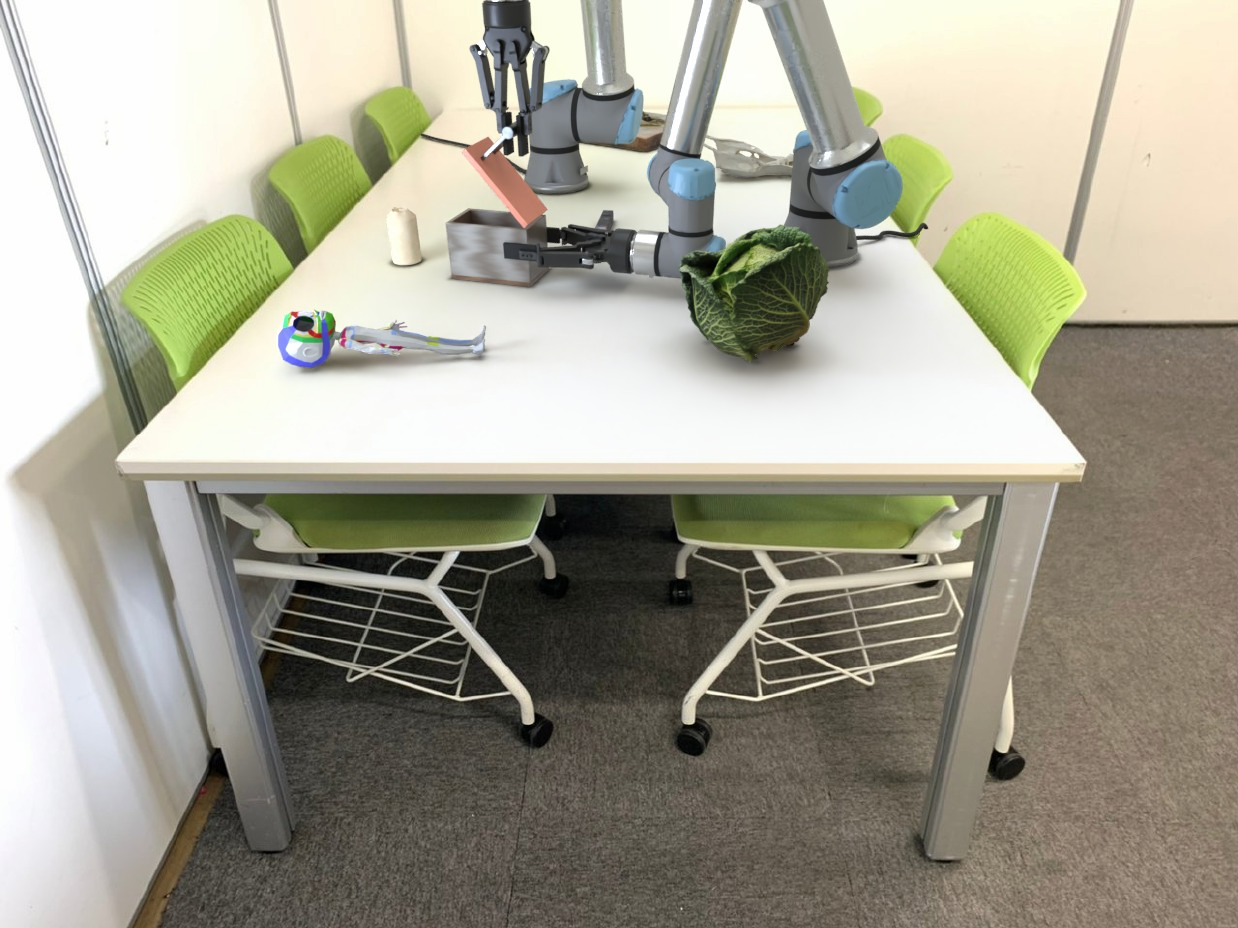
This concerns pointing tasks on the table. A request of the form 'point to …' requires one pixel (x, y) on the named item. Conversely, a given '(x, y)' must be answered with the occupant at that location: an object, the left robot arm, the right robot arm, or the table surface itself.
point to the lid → (505, 177)
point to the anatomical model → (747, 159)
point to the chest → (493, 247)
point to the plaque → (645, 133)
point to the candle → (403, 236)
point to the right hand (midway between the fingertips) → (515, 241)
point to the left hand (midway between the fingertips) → (516, 154)
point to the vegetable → (755, 290)
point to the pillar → (605, 220)
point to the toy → (356, 339)
